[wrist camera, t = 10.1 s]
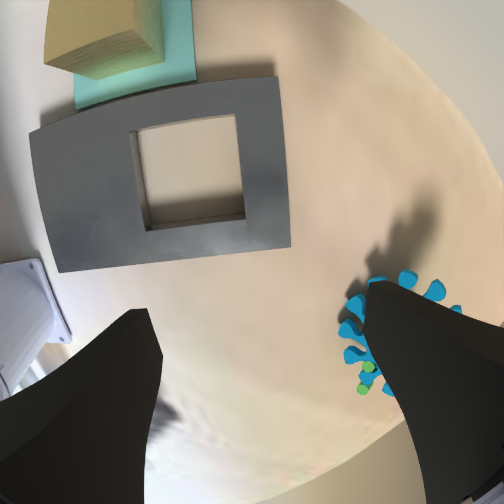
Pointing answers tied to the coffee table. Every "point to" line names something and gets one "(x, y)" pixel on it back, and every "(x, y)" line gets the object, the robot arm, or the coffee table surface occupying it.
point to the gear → (351, 331)
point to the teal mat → (154, 76)
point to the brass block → (103, 36)
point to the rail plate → (132, 186)
